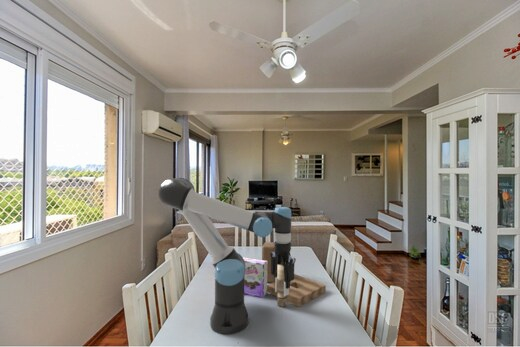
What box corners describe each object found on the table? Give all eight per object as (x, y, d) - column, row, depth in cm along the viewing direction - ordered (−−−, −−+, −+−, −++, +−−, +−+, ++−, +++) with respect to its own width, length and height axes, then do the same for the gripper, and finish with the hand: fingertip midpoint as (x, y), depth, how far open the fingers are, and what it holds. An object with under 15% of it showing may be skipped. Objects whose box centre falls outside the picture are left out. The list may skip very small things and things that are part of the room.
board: (298, 307, 116) (298, 299, 116) (266, 292, 131) (266, 285, 131) (325, 292, 132) (325, 285, 132) (294, 280, 146) (294, 273, 146)
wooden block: (279, 284, 141) (279, 247, 141) (261, 282, 143) (261, 246, 143) (281, 277, 150) (281, 242, 150) (264, 275, 152) (264, 241, 152)
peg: (282, 308, 115) (282, 267, 115) (274, 304, 118) (275, 264, 118) (288, 304, 118) (289, 264, 118) (281, 300, 121) (281, 262, 121)
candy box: (237, 293, 130) (237, 260, 130) (242, 288, 135) (242, 256, 135) (263, 298, 124) (263, 263, 125) (267, 293, 130) (267, 260, 130)
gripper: (303, 244, 114) (302, 297, 114) (274, 236, 127) (273, 284, 127) (292, 247, 109) (291, 302, 109) (263, 239, 122) (262, 289, 122)
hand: (281, 292), depth 118 cm, fingers closed on peg, 4 cm apart
